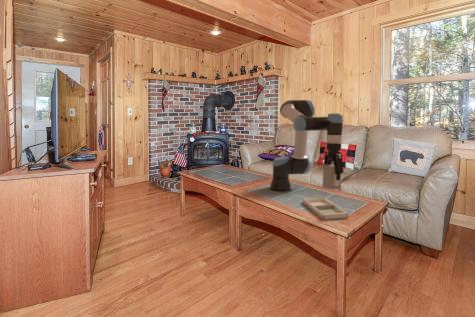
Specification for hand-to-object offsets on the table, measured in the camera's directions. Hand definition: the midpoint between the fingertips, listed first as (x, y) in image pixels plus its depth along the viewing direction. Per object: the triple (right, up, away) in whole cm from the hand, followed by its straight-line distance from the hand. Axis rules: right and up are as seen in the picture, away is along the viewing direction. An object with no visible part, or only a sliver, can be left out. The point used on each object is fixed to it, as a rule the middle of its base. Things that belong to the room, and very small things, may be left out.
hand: (331, 183), depth 147 cm
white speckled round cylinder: (0, -2, 0) cm, 2 cm away
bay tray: (-1, -16, +9) cm, 19 cm away
